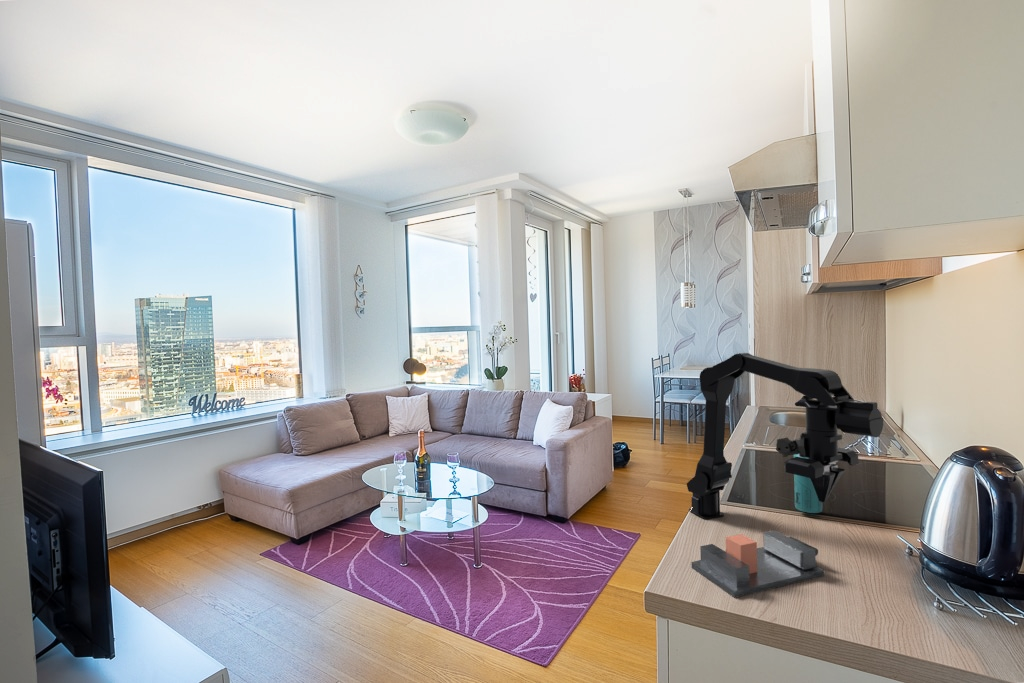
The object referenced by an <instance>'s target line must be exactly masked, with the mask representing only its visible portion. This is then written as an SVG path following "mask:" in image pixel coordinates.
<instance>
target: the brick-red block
mask: <svg viewBox="0 0 1024 683" xmlns="http://www.w3.org/2000/svg"><path fill="white" fill-rule="evenodd" d="M757 548H758V543H757V541H755V540H754V539H751V538H749V537H747V536H745V535H744V534H736V535H731V536H726V537H725V552H727V553H729V554H730V555H732V556H734V557H735V558H737V559H739V560H740V561H742V562H744V563H746V564H747V565H749V574H751V573H755V572H757Z"/></svg>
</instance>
